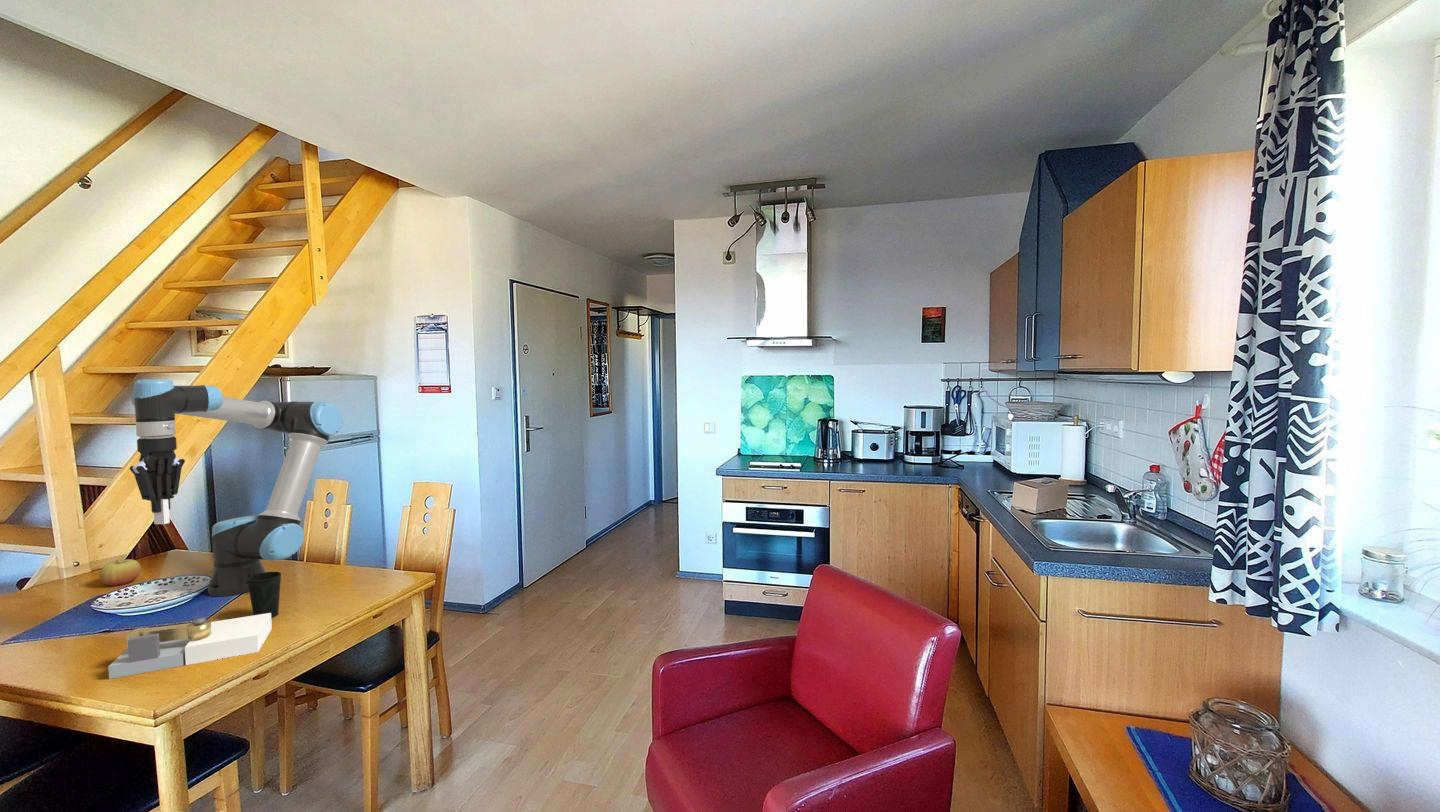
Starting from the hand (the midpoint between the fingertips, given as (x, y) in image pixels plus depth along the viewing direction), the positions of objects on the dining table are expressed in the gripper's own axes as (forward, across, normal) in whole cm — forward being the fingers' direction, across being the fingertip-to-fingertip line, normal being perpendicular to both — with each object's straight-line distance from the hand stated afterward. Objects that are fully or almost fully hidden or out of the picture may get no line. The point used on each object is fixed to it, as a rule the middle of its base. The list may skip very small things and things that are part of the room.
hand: (162, 523), depth 154 cm
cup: (+31, +10, -18) cm, 37 cm away
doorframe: (+30, -10, -18) cm, 37 cm away
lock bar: (+25, -14, -15) cm, 33 cm away
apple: (+31, +36, +51) cm, 69 cm away
